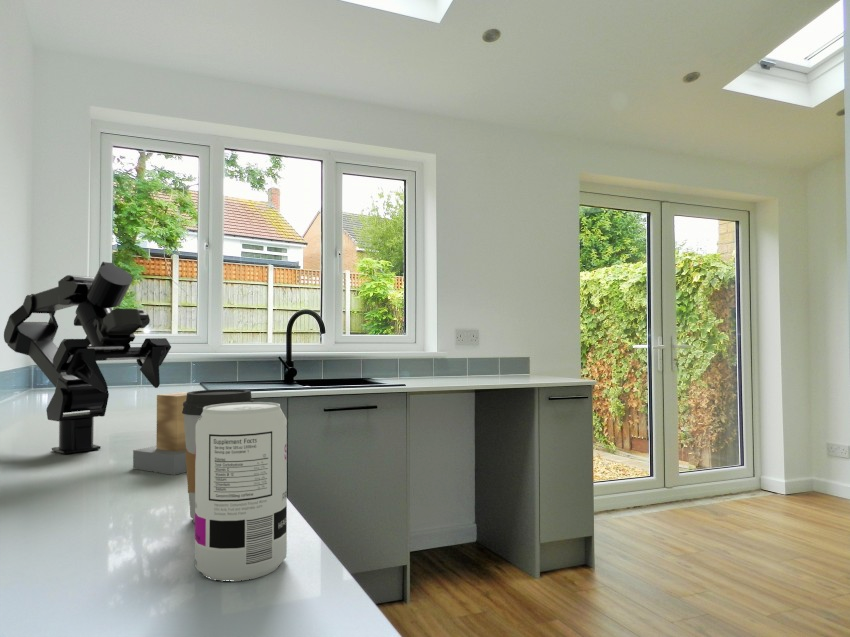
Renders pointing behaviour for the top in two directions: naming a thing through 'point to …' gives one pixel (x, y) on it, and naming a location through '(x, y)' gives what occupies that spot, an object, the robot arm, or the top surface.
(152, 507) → the top surface
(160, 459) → the gray plinth
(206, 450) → the supplement can
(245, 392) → the coffee cup
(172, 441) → the caramel block
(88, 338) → the robot arm
